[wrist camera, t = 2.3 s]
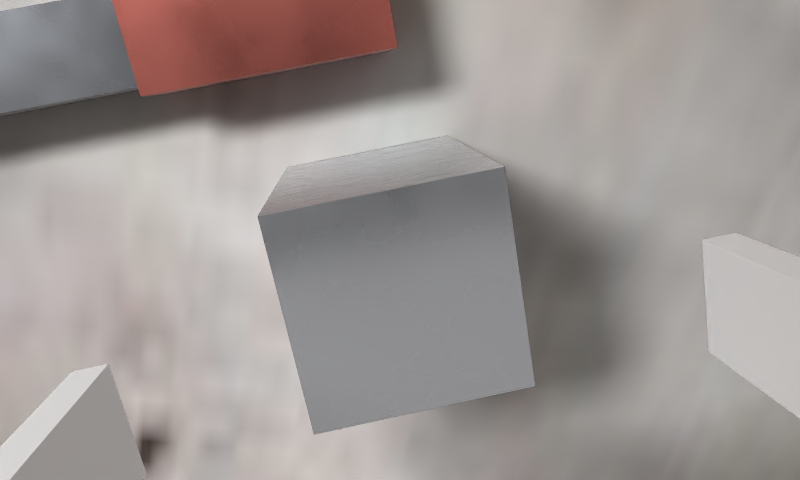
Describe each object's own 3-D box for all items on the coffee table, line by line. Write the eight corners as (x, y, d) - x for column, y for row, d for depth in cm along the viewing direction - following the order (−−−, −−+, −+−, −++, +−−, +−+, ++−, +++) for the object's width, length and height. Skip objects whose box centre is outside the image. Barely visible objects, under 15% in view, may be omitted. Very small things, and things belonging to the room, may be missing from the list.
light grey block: (286, 167, 22) (257, 216, 14) (447, 135, 22) (505, 166, 15) (322, 317, 24) (314, 434, 16) (472, 286, 24) (535, 386, 16)
